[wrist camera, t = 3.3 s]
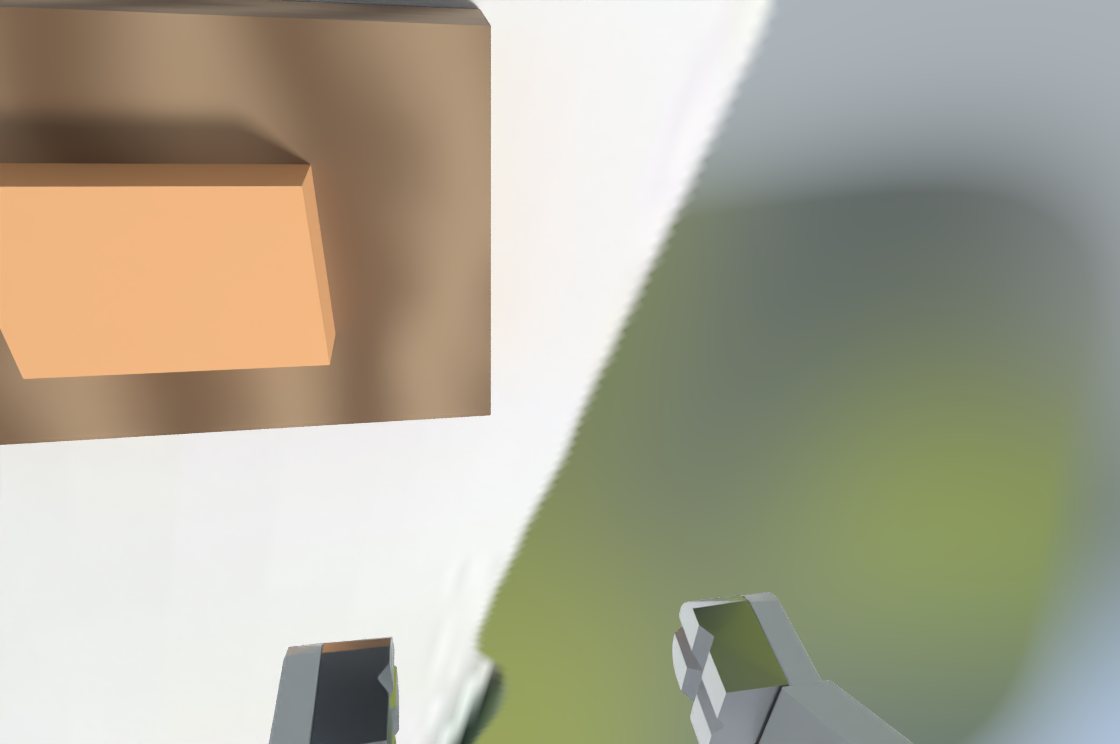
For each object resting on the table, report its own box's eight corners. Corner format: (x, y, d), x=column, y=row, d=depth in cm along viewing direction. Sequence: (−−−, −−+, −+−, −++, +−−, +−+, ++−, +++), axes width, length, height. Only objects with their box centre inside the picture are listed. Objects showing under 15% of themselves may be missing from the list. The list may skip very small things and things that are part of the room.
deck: (480, 9, 23) (490, 25, 19) (482, 361, 30) (490, 415, 27) (-317, -26, 19) (-469, -12, 16) (-82, 387, 27) (-151, 454, 23)
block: (310, 164, 21) (301, 186, 19) (335, 334, 24) (329, 365, 22) (-25, 162, 19) (-66, 186, 18) (51, 345, 22) (23, 378, 21)
